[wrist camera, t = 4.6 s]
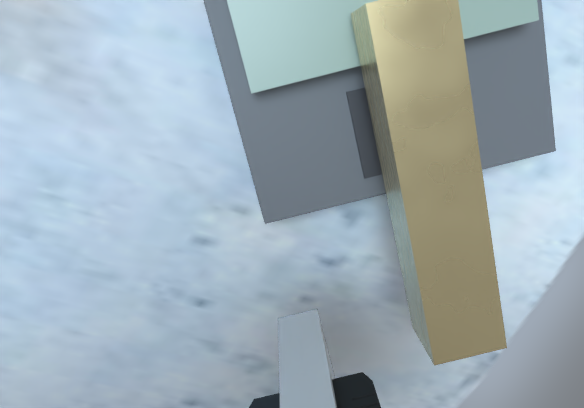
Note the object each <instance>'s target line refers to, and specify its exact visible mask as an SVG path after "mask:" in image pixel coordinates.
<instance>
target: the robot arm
mask: <svg viewBox="0 0 584 408" xmlns="http://www.w3.org/2000/svg"><path fill="white" fill-rule="evenodd" d="M278 343H279V393H278V394H274V395H270V396H265V397H261V398H257V399H254V400H253V402H252V404H251V405H250V407H249V408H381V406H380V403H379V400H378V397H377V394H376V391H375V388H374V384H373V381H372V380H371V379H370V378H369V377H367V376H366V375H365V374H364V373H363V372H362V373H357V374H353V375H349V376H345V377H341V378H336V379H335V377H334V372H333V368H332V364H331V360H330V356H329V352H328V348H327V345H326V341H325V337H324V333H323V329H322V325H321V321H320V317H319V313H318V309H314V310H310V311H306V312H302V313H298V314H294V315H289V316H285V317H281V318H278Z"/></svg>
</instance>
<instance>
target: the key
mask: <svg viewBox="0 0 584 408" xmlns="http://www.w3.org/2000/svg"><path fill="white" fill-rule="evenodd" d="M351 19H352V24H353V29H354V34H355V39H356V44H357V49H358V54H359V59H360V64H361V69H362V74H363V79H364V84H365V89H366V95H367V100H368V105H369V110H370V115H371V120H372V125H373V131H374V135H375V140H376V145H377V150H378V155H379V160H380V165H381V170H382V175H383V180H384V185H385V190H386V195H387V200H388V205H389V210H390V215H391V220H392V225H393V230H394V235H395V241H396V246H397V251H398V256H399V261H400V266H401V271H402V276H403V281H404V286H405V291H406V296H407V301H408V306H409V311H410V316H411V321H412V326H413V329H414V331H415V332H416V334H417V336H418V338H419V339H420V341H421V343H422V345H423V346H424V348H425V350H426V352H427V354H428V355H429V357H430V359H431V361H432V362H433V364H434V365H438V364H442V363H446V362H450V361H455V360H459V359H463V358H467V357H471V356H475V355H479V354H483V353H487V352H491V351H496V350H500V349H504V348H507V346H506V338H505V331H504V324H503V317H502V310H501V303H500V295H499V288H498V281H497V274H496V267H495V260H494V252H493V245H492V238H491V231H490V224H489V217H488V210H487V202H486V195H485V188H484V181H483V174H482V167H481V159H480V152H479V145H478V138H477V131H476V124H475V116H474V109H473V102H472V95H471V88H470V81H469V74H468V66H467V59H466V52H465V45H464V38H463V31H462V23H461V16H460V9H459V2H458V0H378V1H374V2H370V3H366V4H364V5H363V6H361V7H360V8H358V9H357V10H355V11H354V12H352V13H351Z"/></svg>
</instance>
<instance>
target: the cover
mask: <svg viewBox="0 0 584 408" xmlns="http://www.w3.org/2000/svg"><path fill="white" fill-rule="evenodd" d="M374 1H378V0H227V3H228V7H229V11H230V14H231V18H232V22H233V26H234V30H235V33H236V37H237V41H238V45H239V49H240V52H241V56H242V60H243V64H244V68H245V71H246V75H247V79H248V83H249V87H250V90H251V94H252V93H256V92H260V91H263V90H267V89H271V88H275V87H279V86H283V85H287V84H291V83H295V82H299V81H303V80H307V79H310V78H314V77H318V76H322V75H326V74H330V73H334V72H338V71H342V70H346V69H350V68H353V67H357V66H361V64H360V59H359V54H358V49H357V44H356V39H355V34H354V29H353V24H352V19H351V13H352V12H354V11H355V10H357V9H358V8H360V7H361V6H363V5H364V4H366V3H370V2H374ZM458 2H459V9H460V16H461V23H462V31H463V38H464V39H467V38H471V37H475V36H479V35H483V34H487V33H490V32H494V31H498V30H502V29H506V28H510V27H514V26H518V25H522V24H526V23H530V22H534V21H537V20H539V14H538V3H537V0H458Z"/></svg>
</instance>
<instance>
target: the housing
mask: <svg viewBox="0 0 584 408" xmlns="http://www.w3.org/2000/svg"><path fill="white" fill-rule="evenodd" d="M537 3H538V14H539V20H537V21H534V22H530V23H526V24H522V25H518V26H514V27H510V28H506V29H502V30H498V31H494V32H490V33H487V34H483V35H479V36H475V37H471V38H467V39H464V45H465V52H466V59H467V66H468V74H469V81H470V88H471V95H472V102H473V109H474V116H475V124H476V131H477V138H478V145H479V152H480V159H481V167H482V169H486V168H490V167H494V166H498V165H502V164H506V163H510V162H514V161H518V160H522V159H526V158H530V157H534V156H538V155H542V154H546V153H550V152H554V151H556V148H555V138H554V127H553V117H552V106H551V96H550V85H549V75H548V64H547V54H546V43H545V33H544V23H543V12H542V2H541V0H537ZM204 4H205V8H206V11H207V15H208V19H209V22H210V26H211V29H212V33H213V37H214V40H215V44H216V48H217V51H218V55H219V58H220V62H221V66H222V69H223V73H224V77H225V80H226V84H227V87H228V91H229V95H230V98H231V102H232V106H233V109H234V113H235V117H236V120H237V124H238V127H239V131H240V135H241V138H242V142H243V146H244V149H245V153H246V156H247V160H248V164H249V167H250V171H251V175H252V178H253V182H254V185H255V189H256V193H257V196H258V200H259V204H260V207H261V211H262V214H263V218H264V222H265V224H266V223H270V222H274V221H278V220H282V219H286V218H290V217H294V216H298V215H302V214H306V213H310V212H314V211H318V210H322V209H326V208H330V207H334V206H338V205H342V204H346V203H350V202H354V201H358V200H362V199H366V198H370V197H374V196H378V195H382V194H386V190H385V185H384V180H383V175H382V170H381V165H380V160H379V155H378V150H377V145H376V140H375V135H374V131H373V125H372V120H371V115H370V110H369V105H368V100H367V95H366V89H365V84H364V79H363V74H362V69H361V66H357V67H353V68H350V69H346V70H342V71H338V72H334V73H330V74H326V75H322V76H318V77H314V78H310V79H307V80H303V81H299V82H295V83H291V84H287V85H283V86H279V87H275V88H271V89H267V90H263V91H260V92H256V93H252V94H251V90H250V87H249V83H248V79H247V75H246V71H245V68H244V64H243V60H242V56H241V52H240V49H239V45H238V41H237V37H236V33H235V30H234V26H233V22H232V18H231V14H230V11H229V7H228V3H227V0H204Z"/></svg>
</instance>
